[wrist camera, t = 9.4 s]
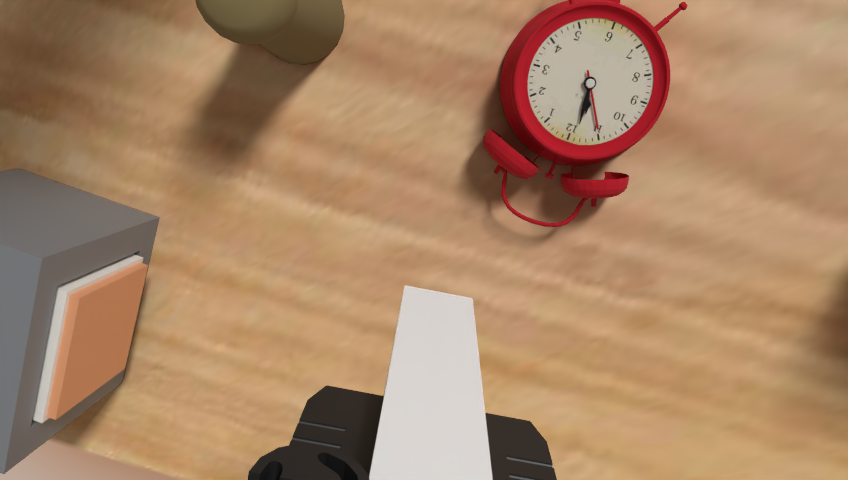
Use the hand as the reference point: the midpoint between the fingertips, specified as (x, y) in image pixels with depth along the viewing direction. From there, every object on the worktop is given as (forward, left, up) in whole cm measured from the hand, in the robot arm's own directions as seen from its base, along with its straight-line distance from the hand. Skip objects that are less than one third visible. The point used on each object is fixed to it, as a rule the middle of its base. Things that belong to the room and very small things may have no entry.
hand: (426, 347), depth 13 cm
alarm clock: (+1, +9, -29) cm, 30 cm away
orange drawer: (-12, -26, -27) cm, 39 cm away
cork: (-16, -1, -29) cm, 33 cm away
